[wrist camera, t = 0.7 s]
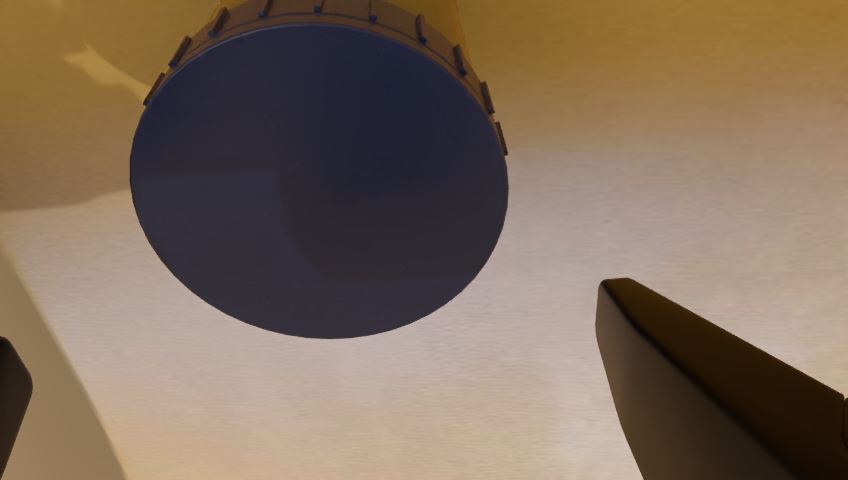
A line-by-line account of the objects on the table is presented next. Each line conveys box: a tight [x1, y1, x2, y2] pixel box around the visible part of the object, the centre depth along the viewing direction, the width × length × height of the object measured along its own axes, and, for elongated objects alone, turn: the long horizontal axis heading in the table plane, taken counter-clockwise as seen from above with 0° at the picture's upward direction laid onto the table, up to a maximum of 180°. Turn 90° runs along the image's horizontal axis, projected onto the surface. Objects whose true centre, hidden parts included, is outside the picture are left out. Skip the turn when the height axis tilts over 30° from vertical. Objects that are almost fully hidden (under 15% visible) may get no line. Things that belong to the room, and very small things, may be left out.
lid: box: [130, 0, 509, 339], centre depth 13 cm, size 7×7×2 cm
